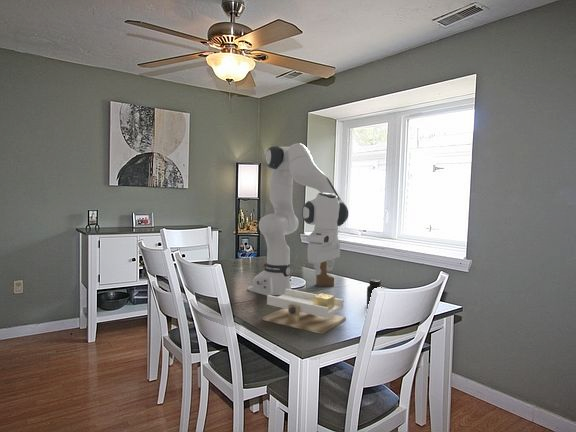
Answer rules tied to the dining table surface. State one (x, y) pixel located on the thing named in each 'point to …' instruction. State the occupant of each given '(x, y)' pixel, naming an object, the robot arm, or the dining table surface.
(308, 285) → the dining table surface
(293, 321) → the stand
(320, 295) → the block
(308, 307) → the beam
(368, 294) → the supplement bottle
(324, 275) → the wooden block
